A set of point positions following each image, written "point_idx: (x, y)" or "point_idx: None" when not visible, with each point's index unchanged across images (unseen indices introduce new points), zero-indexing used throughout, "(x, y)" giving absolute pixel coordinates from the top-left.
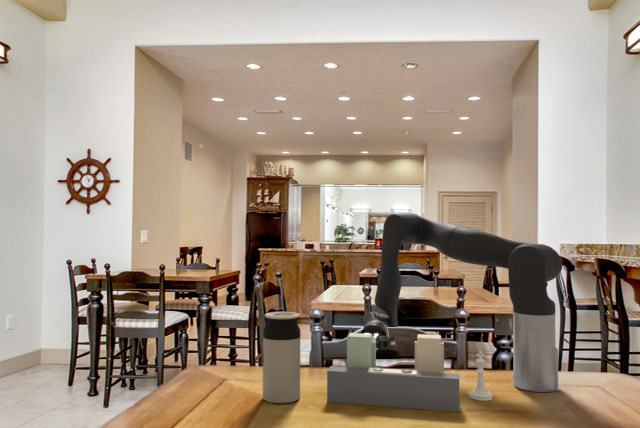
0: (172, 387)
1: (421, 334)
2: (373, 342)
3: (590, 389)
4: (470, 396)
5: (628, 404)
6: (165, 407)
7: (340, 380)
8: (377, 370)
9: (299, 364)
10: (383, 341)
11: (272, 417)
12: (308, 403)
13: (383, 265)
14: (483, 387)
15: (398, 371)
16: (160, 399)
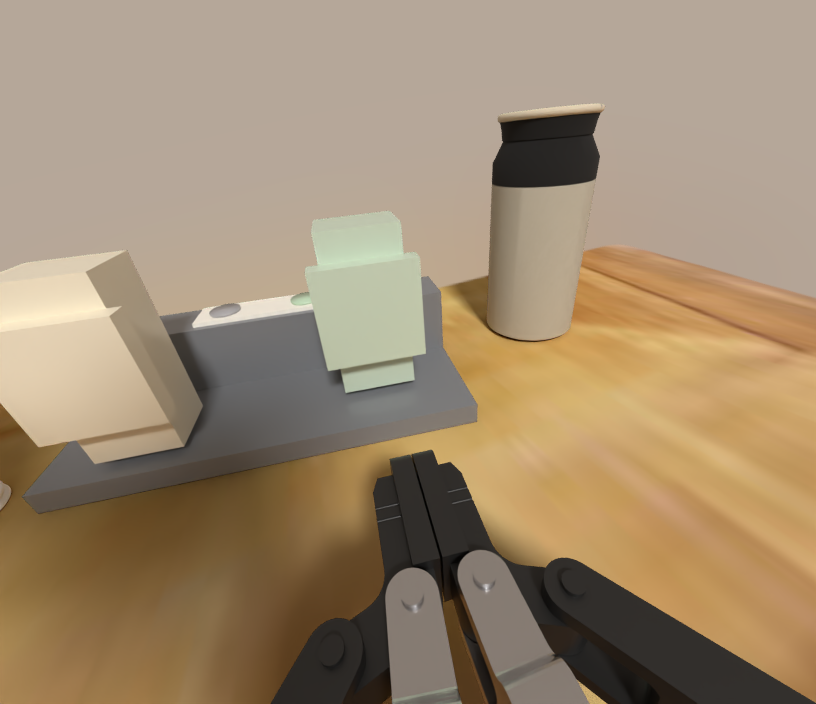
0: (769, 292)
1: (67, 273)
2: (313, 267)
3: None
4: (5, 496)
5: None
6: (633, 264)
7: None
8: (305, 292)
9: (492, 255)
10: (293, 677)
11: (471, 288)
12: (461, 327)
13: None
14: None
15: (249, 307)
16: (685, 270)
